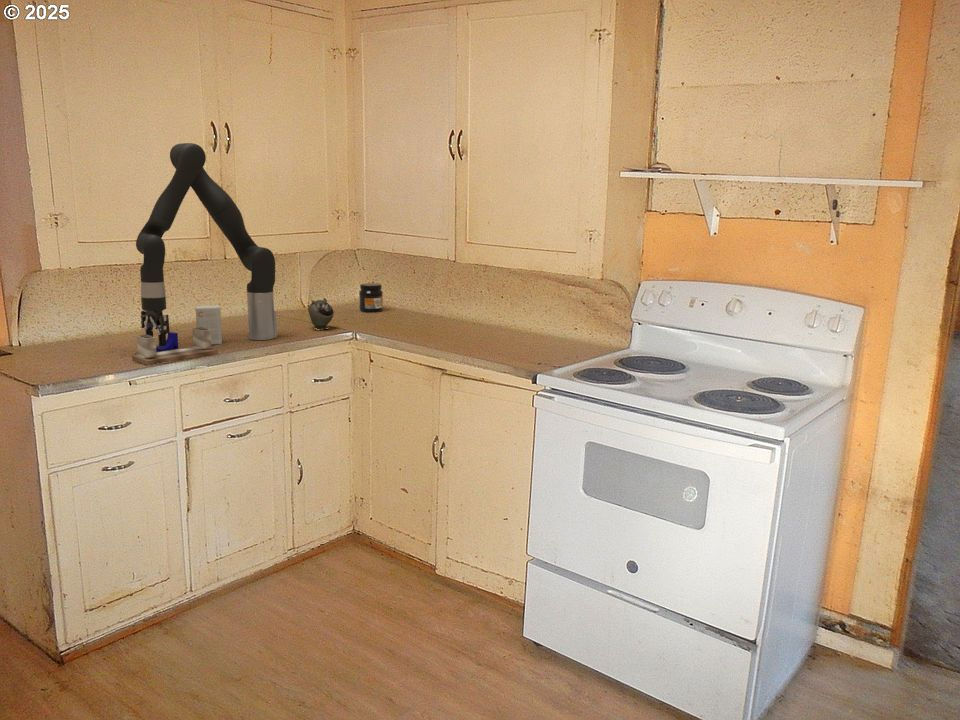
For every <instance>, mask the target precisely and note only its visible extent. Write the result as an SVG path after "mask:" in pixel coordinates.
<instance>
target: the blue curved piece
mask: <svg viewBox="0 0 960 720" xmlns="http://www.w3.org/2000/svg"><path fill="white" fill-rule="evenodd" d="M178 335H179V333H178V332H173V331H170V333H167V336H166V345H165V346H160V345H159V344H158V345H156V352H161V351H168V350H174V349H180V348H179V336H178Z"/></svg>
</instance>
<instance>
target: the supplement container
mask: <svg viewBox="0 0 960 720" xmlns="http://www.w3.org/2000/svg"><path fill="white" fill-rule="evenodd" d="M382 286H383V285H382V284H381V283H375V282H367V283H361V284H359V288H360V290H359V291H358V292H359V307H358V308H359V310H360V312H364V313H380V312H382V311H383V309H384V308H383V305H384V303H383V301H384V299H383V295H384V293H383V290H382V288H383V287H382ZM379 311H380V312H379Z"/></svg>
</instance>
